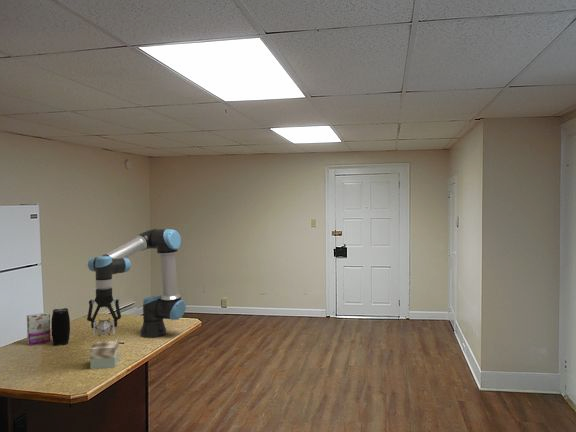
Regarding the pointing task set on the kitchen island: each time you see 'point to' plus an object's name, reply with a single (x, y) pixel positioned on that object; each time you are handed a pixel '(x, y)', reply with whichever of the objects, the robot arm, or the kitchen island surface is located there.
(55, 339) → the portable speaker
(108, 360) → the lower block
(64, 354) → the kitchen island surface
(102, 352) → the upper block
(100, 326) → the game die
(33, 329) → the candy bar box
